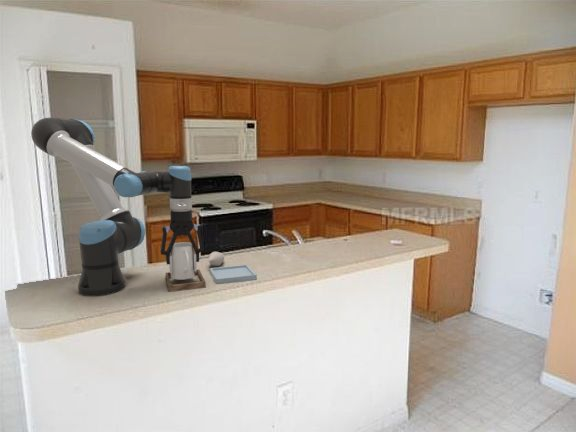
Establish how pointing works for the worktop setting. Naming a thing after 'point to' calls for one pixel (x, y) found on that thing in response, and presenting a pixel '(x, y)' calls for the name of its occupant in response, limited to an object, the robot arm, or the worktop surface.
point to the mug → (182, 261)
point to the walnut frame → (186, 285)
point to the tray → (232, 274)
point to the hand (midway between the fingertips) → (183, 271)
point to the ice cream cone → (216, 258)
